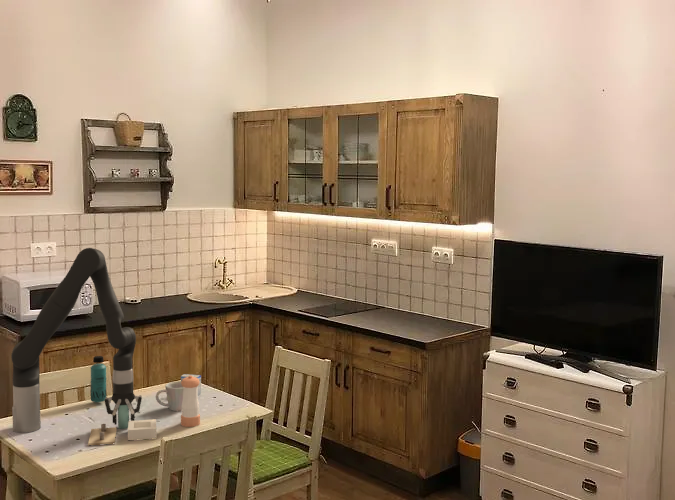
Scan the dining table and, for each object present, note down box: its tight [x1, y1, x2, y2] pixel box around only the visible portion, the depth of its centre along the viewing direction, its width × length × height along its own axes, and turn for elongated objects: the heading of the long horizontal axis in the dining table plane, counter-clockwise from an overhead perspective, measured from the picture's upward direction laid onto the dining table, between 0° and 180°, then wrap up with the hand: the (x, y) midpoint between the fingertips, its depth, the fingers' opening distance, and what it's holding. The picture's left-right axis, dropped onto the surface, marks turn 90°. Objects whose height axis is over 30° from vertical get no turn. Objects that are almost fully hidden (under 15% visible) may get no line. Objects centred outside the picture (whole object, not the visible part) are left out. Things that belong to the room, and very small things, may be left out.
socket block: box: [127, 418, 157, 441], centre depth 276 cm, size 10×10×4 cm
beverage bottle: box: [89, 355, 108, 403], centre depth 310 cm, size 6×7×20 cm
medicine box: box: [180, 373, 202, 397], centre depth 325 cm, size 8×4×9 cm, turn 81°
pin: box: [117, 405, 130, 430], centre depth 283 cm, size 4×4×9 cm
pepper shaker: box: [180, 374, 201, 428], centre depth 288 cm, size 7×7×19 cm
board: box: [87, 423, 118, 447], centre depth 272 cm, size 9×15×4 cm, turn 14°
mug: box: [155, 380, 183, 412], centre depth 305 cm, size 10×15×10 cm
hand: (123, 423), depth 284 cm, fingers open, 5 cm apart
